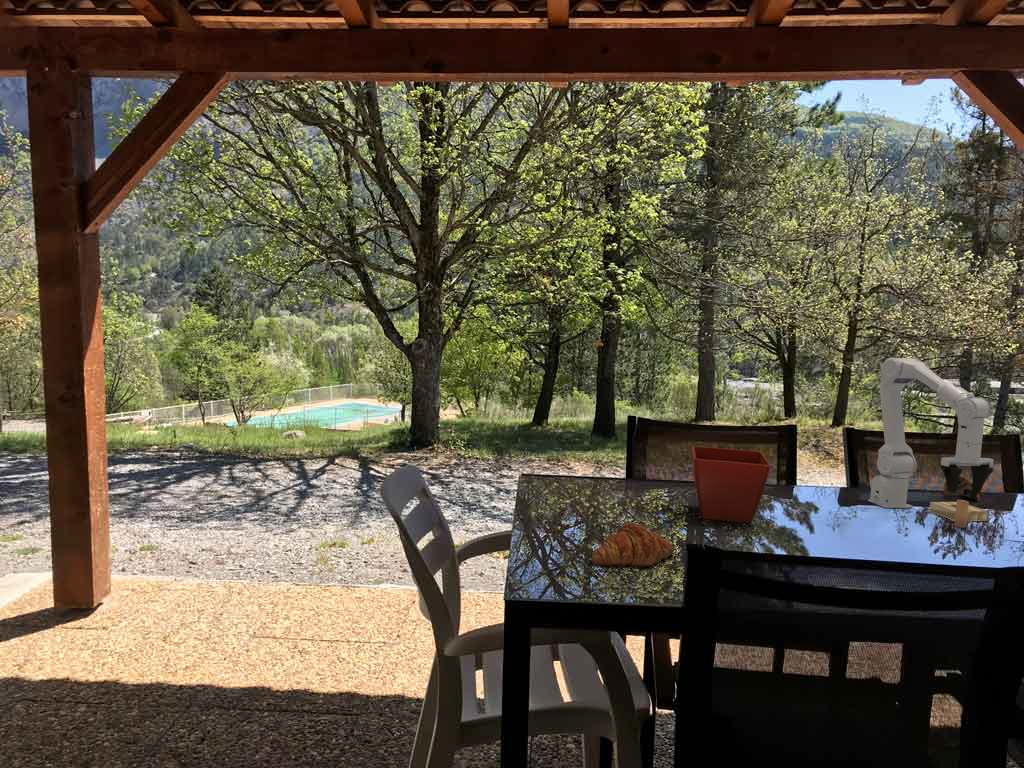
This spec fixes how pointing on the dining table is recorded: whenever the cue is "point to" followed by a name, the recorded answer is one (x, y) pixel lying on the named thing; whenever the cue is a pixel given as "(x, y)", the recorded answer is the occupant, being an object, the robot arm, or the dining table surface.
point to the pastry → (632, 548)
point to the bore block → (950, 510)
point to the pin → (961, 513)
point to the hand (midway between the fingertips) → (964, 492)
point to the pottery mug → (963, 488)
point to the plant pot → (729, 482)
